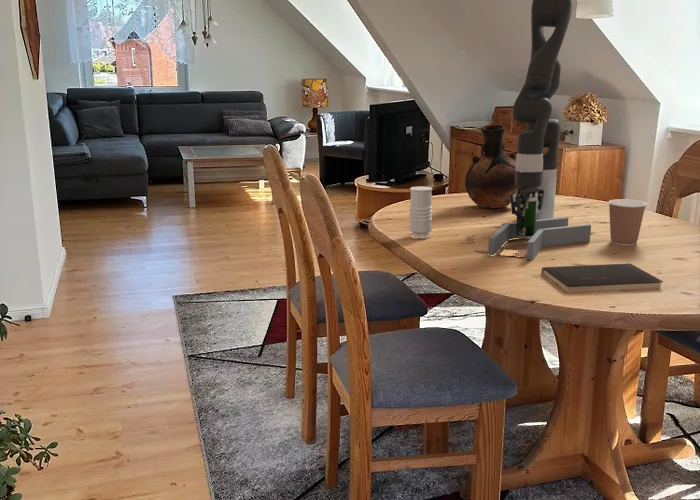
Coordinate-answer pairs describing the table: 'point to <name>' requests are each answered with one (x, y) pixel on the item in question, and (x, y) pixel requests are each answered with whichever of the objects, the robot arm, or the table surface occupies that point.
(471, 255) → the table surface
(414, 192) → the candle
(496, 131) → the ceramic vessel
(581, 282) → the hardcover book
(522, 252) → the pad
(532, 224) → the beer can
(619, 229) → the coffee cup
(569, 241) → the bent channel
